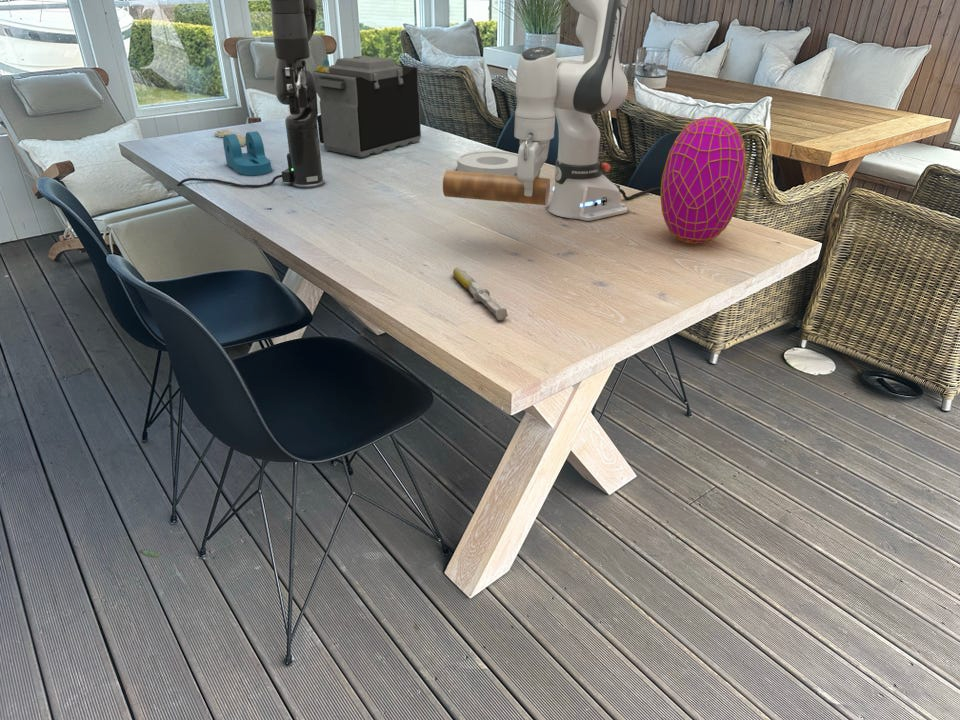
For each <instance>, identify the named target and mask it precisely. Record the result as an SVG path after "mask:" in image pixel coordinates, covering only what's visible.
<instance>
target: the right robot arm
mask: <svg viewBox="0 0 960 720" xmlns="http://www.w3.org/2000/svg"><path fill="white" fill-rule="evenodd" d="M567 2H568V3H569V4H570V6H571V7H572V8H573V9H574V10H575V11H576V12H578V13H579V15H578V19H577V23H576V28H575V34H576V37H577V39H578V41H580V43H581V45H582V48H583V60H582V61H579V60H572V59H564V60H561V59H559V58H557V53H556V50H555V49H553V48H551V47H548V46H536V47H530V48H527V49H525V50H524V51H522V52H521V53H520V55H519V59H518V63H517V68H516V77H515V97H516V108H515V111H514V127H513V129H514V130H513V131H514V132H513V136H514V138H515V139H518V140H519V148H518V153H517V154H518V163H517V180H518V181H521V182H523V184H524V195H525V196H529V197H531V196H532V194H533V181H534V179H535V177H538V178H540V175H541V170H542V168H543V166H544V164H545V163H546V161H547V160H548V155H549V150H550V143H551V140H553V139H554V138H555V125H556V123H557V130H558V140H557V141H558V143H557V145H558V146H557V158H556V159H555V167H554V185H553V187H552V191H553V192H552V196H551V200H550V204H549V206H548V209H547V210H548V212H549V213H550V214H552V215H554V216H558V217H561V218H566V219H574V220H580V221H586V222H593V221H596V220H600V219H604V218H611V217H613V216H619V215H622V214H627V213H628V206H627V205H626V204H624V203H623V202H622V201H621V195H622V198H623V199H624V200H626V201H629V200H632V199H634V198H636V197H639V196H643V195H645V194H649V193H651V192H655V191H656V192H657V191H660V192H661V187H652V188H649V189H646V190H643V191H639V192H636V193H633V194H631V195H630V196H627V194H626V192H625V191H624V190H623V189H622V188H621V185H619V184H616V183H614V182H612V181H611V180H610V179H609V178H608V177H607V176H605V174H604V172H609V171H610V170H611V168H612V167H611V165H610V164H609V163H607V162H602V161H600V160H599V155H600V146H601V145H600V144H601V131H600V129H599V127H598V126H597V124H596V123H595V122H594V120H593V118H592V116H593V115H596V114H598V113H599V112H614V111H616V110H618V109H619V108H620V107H621V106H622V105H623V104H624V102H625V101H626V98H627V96H628V93H629V82H628V78H627V76H626V74H625V73H624V71H623V68H622V67H621V63H620V57H619V55H620V54H619V42H620V37H621V32H622V27H623V23H624V19H625V15H626V11H627V7H628V3H629V0H567ZM603 171H604V172H603Z"/></svg>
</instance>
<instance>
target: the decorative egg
mask: <svg viewBox="0 0 960 720" xmlns="http://www.w3.org/2000/svg"><path fill="white" fill-rule="evenodd" d="M746 152H747V151H746V147H745V142H744V139H743V137H742V135H741V132H740V131H739V129H738V128H737V126H736V125H735V124H734V123H733V122H731V121H729V120H727V119H724V118H721V117H717V116H704V117H700V118H697V119H694V120H692V121H691V122H689V123H688V124H686V125H685V126H684V127H683V129H681V132H680V133H679V134H678V135H677V136H676V138H675V140H674V142H673V144H672V145H671V147H670V149H669V152H668V155H667V158H666V162H665V164H664V168H663V170H662V171H663V172H662V175H661V181H660V188H661V191H660V193H659V195H660V196H659V197H660V205H661V212H662V213H661V214H662V217H663V221H664V223H665V225H666V227H667V229H668V231H669V233H671V234H672V235H673V236H674V237H675V238H676V239H677V240H679V241H681V242H683V243H684V242H685V243H688V244H705V243H708V242H711V241H712V240H714V239H715V238H717V237H718V236H720V235H721V233H723V231H724V230H725V229H726V228H727V227H728V226H729V223H730V222H731V220H732V218H733V216H734V214H735V212H736V209H737V207H738V205H739V202H740V201H741V199H742V198H741V197H742V195H743V191H744V187H745V181H746V174H747V153H746Z"/></svg>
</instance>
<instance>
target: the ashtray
mask: <svg viewBox="0 0 960 720" xmlns="http://www.w3.org/2000/svg"><path fill="white" fill-rule="evenodd" d="M456 161H457V162H456V163H457V164H456V165H457V169H456V171H462V172H475V173H487V174H500V175H512V176H517V163H518V153H516V152H511V151H503V150H478V151H471V152H470V151H469V152H466V153H463V154H460V155H459V156H458V157H457V158H456Z"/></svg>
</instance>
